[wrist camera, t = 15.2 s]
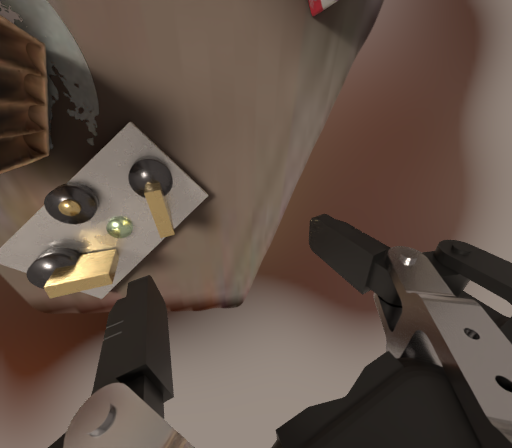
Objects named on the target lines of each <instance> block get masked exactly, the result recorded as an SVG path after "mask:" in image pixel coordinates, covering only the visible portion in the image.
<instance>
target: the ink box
mask: <svg viewBox="0 0 512 448" xmlns="http://www.w3.org/2000/svg"><path fill="white" fill-rule="evenodd" d="M337 1H338V0H308V2H309V6H310V10H311V14H312V16H315V15H317V14H319V13H320V12H322V11H323V10H325V9H326V8H328V7H329V6H331V5H332V4H334V3H335V2H337Z"/></svg>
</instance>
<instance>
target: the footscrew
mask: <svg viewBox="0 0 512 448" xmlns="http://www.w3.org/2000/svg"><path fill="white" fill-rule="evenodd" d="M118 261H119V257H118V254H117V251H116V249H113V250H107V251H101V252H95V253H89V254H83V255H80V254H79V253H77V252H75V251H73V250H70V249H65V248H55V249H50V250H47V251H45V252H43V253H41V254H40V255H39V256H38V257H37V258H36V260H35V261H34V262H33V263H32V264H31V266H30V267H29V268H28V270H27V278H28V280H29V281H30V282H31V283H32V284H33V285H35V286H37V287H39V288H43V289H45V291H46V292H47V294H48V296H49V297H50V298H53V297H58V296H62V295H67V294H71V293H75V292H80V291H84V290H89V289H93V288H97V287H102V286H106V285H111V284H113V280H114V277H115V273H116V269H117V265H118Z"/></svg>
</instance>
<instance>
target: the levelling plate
mask: <svg viewBox="0 0 512 448" xmlns="http://www.w3.org/2000/svg"><path fill="white" fill-rule="evenodd" d="M144 157H153V158H157V159H159V160H161V161H162V162H164V163H165V164H166V165H167V166H168V168H169V169H170V172H171V175H172V179H173V185H172V188H171V190H170V192H169V193H168V194H167V195H165V197H166V200H167V203H168V206H169V210H170V213H171V216H172V221H173V227H174V229H175V228H176V227H177V226H178V225H179V224H180V223H181V222H182V221H183V220H184V219H185V218H186V217H187V216H188V215H189V214H190V213H191V212H192V211H193V210H194V209H195V208H196V207H197V206H198V205H199V204H200V203H201V202H202V201H203V200H205V199H206V198H207V197H208V196H209V195H208V194H207V192H206V191H205V190H204V189H202V188H201V187H200V186H199V185H198V184H197V183H196V182H195V181H194V180H193V179H192V178H191V177H190V176H189V175H188V174H187V173H186V172H185V171H183V170H182V169H181V168H180V167H179V166H178V165H177V164H176V163H175V162H174V161H173V160H172V159H171V158H170V157H169V156H168V155H167V154H166V153H164V152H163V151H162V150H161V149H160V148H159V147H158V146H157V145H156V144H155V143H154V142H153V141H152V140H151V139H150V138H149V137H148V136H146V135H145V134H144V133H143V132H142V131H141V130H140V129H139V128H138V127H137V126H136V125H135V124H134V123H133V122H132V121H131V122H129V123H128V124H127V125H126V126H125V127H124V128H123V129H122V130H121V131H120V132H119V133H118V134H117V135H116V136H115V137H114V138H113V139H112V140H111V141H110V142H109V143H108V144H107V145H106V146H105V147H104V148H103V149H101V150H100V151H99V152H98V153H97V154H96V155H95V156H94V157H93V158H92V159H91V160H90V161H89V162H88V163H87V164H86V165H85V166H84V167H83V168H82V169H81V170H80V171H79V172H78V173H77V174H76V175H75V176H74V177H73V178H72V179H71V180H70V181H69V182H68V183H67V184H63V185H60V186H58V187H57V188H55V189H54V190H53V191H51V192H50V193H49V194H48V195H47V196H46V198H45V200H44V206H43V207H42V208H41V209H40V210H39V211H38V212H37V213H36V214H35V215H34V216H33V217H32V218H31V219H30V220H29V221H28V222H27V223H26V224H25V225H24V226H22V227H21V228H20V229H19V230H18V231H17V232H16V233H15V234H14V235H13V236H12V237H11V238H10V239H9V240H8V241H7V242H6V243H5V244H4V245H3V246H2V247H1V248H0V264H2V265H5V266H8V267H11V268H14V269H16V270H19V271H22V272H25V273H27V270H28V268H29V267H30V266H31V264H32V263H33V262H34V261H35V260H36V258H37V257H38V256H39V255H40V254H41V253H43V252H45V251H47V250H50V249H55V248H65V249H70V250H73V251H75V252H77V253H79V254H80V255H83V254H89V253H95V252H101V251H107V250H113V249H116V251H117V254H118V257H119V261H118V265H117V269H116V273H115V277H114V280H113V284H111V285H106V286H102V287H97V288H93V289H89V290H84V291H80V292H83V293H86V294H89V295H92V296H95V297H98V298H101V299H102V298H103V297H104V296H105V295H106V294H107V293H108V292H109V291H110V290H111V289H112V288H113V287H115V286H116V285H117V284H118V283H119V282H120V281H121V280H122V279H123V278H124V277H125V276H126V275H127V274H128V273H129V272H130V271H131V270H132V269H133V268H134V267H135V266H136V265H137V264H138V263H139V262H140V261H141V260H142V259H143V258H145V257H146V256H147V255H148V254H149V253H150V252H151V251H152V250H153V249H154V248H155V247H156V246H157V245H158V244H159V243H160V242H161V241H162V240H163V239H164V238H165V237H163V238H160V235H159V233H158V230H157V227H156V224H155V222H154V219H153V216H152V214H151V211H150V208H149V205H148V203H147V200H146V198H144V197H142V196H140V195H138V194H137V193H136V192H134V190H133V189H132V188H131V186H130V184H129V180H128V175H129V171H130V169H131V167H132V165H133V164H134V163H135V162H136V161H137V160H139V159H141V158H144Z"/></svg>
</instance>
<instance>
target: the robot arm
mask: <svg viewBox="0 0 512 448" xmlns="http://www.w3.org/2000/svg"><path fill="white" fill-rule="evenodd" d="M309 245H310V248H311V249H312V251H313V252H314V253H315V254H317V255H318V256H319V257H320V258H321V259H322V260H323V261H325V262H326V263H327V264H328V265H329V266H330V267H331V268H333V269H334V270H335V271H336V272H337V273H338V274H339V275H341V276H342V277H343V278H344V279H345V280H347V281H348V282H349V283H350V284H351V285H352V286H353V287H355V288H356V289H357V290H358V291H359V292H360V293H361V294H364V293H366V292H368V291H370V290H372V291H374V292H375V293H374V300H375V303H376V306H377V310H378V313H379V316H380V319H381V322H382V325H383V329H384V332H385V335H386V353H384V354H383V355H381V356H380V357H379V358H377V359H376V360H374V361H373V362H372V363H370V364H369V365H367V366H366V367H365V368H364V370H363V371H362V373H361V374H360V376H359V377H358V379H357V381H356V382H355V384H354V385H353V387H352V388H351V390H350V391H349V393H348V394H347V395H346V396H345V397H343V398H340V399H337V400H333V401H329V402H325V403H322V404H318V405H314V406H310V407H308V408H306V409H305V410H303V411H302V412H301V413H299V414H298V415H296V416H295V417H294V418H292V419H291V420H289V421H288V422H286V423H285V424H284V425H282V426H281V427H280V428H278V429H276V434H277V441H276V442H275V444H274V445H273V447H272V448H512V317H511V318H509V317H506V316H504V315H502V314H500V313H498V312H497V311H495V310H493V309H492V308H490V307H489V306H487V305H485V304H484V303H482V302H480V301H479V300H477V299H476V298H474V297H472V296H471V295H469V294H467V293H466V292H464V291H463V290H464V288H465V287H466V285H467V283H468V282H469V281H470V280H471V281H473V282H475V283H477V284H478V285H480V286H482V287H484V288H486V289H487V290H489V291H491V292H493V293H494V294H496V295H498V296H500V297H502V298H503V299H505V300H507V301H508V302H509V303H510V304H511V305H512V263H510V262H508V261H506V260H503V259H502V258H499V257H497V256H495V255H493V254H490V253H488V252H486V251H484V250H481V249H479V248H477V247H475V246H472V245H470V244H468V243H465V242H461V241H456V240H443V241H441V242H440V243H439V244H438V246H437V248H436V250H435V251H432V252H424V253H421V252H419V251H417V250H415V249H412V248H408V247H402V246H401V247H400V246H398V247H393V248H390V247H388V246H386V245H384V244H383V243H381V242H379V241H377V240H376V239H374V238H372V237H370V236H369V235H367V234H365V233H362V232H361V231H360V230H358V229H355V228H354V227H353V226H351V225H349V224H348V223H346V222H343V221H339V220H336V219H334V218H332V217H330V216H329V215H327V214H322V215H319V216H317V217H314V218H312V219H311V220H310V231H309ZM106 328H107V329H106V330H105V335H104V341H103V345H102V350H101V354H100V359H99V363H98V368H97V373H96V378H95V382H94V387H93V391H92V394H91V396H90V397H89V398H88V399H87V400H86V401H85V402H84V403H83V405H82V406H81V407H80V408H79V410H78V411H77V412H76V414H75V415H74V417H73V419H72V420H71V422H70V424H69V426H68V429H67V431H66V433H65V434H63V435H62V436H61V437H60V438H59V439H58V440H57V441H55V442H54V443H53V444H52V445H51V446H50V447H48V448H195V447H194V446H192V445H191V444H190V443H189V442H188V441H187V440H186V439H185V438H184V437H183V436H181V435H180V434H179V433H178V432H177V431H176V430H175V429H174V428H173V427H171V426H170V425H169V424H168V423H167V422H166V421H165V420H164V405H163V403H164V402H166V401H167V400H169V399H171V398H173V397H174V394H173V382H172V369H171V356H170V343H169V330H168V318H167V309H166V305H165V302H164V299H163V297H162V295H161V294H160V292H159V290H158V288H157V286H156V284H155V282H154V281H153V279H152V277H151V276H150V275H148V276H145V277H142V278H140V279H137V280H134V281H131V282H129V283H128V289H127V296H126V297H125V298H122V299H120V300H117V302H116V303H115V305H114V306H113V308H112V310H111V311H110V313H109V316H108V321H107V326H106Z"/></svg>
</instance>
